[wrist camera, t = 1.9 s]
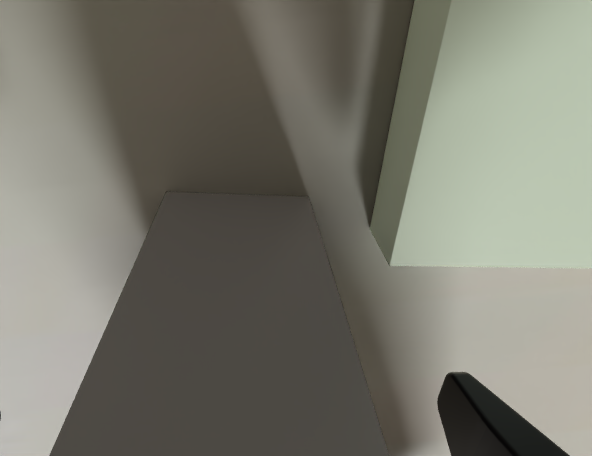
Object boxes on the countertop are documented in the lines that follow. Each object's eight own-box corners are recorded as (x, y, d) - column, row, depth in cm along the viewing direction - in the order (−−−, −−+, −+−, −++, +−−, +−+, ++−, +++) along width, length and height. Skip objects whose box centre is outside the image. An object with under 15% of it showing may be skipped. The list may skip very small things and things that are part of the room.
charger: (296, 305, 14) (348, 627, 7) (174, 305, 13) (88, 654, 6) (308, 196, 12) (398, 486, 5) (166, 191, 11) (26, 509, 4)
